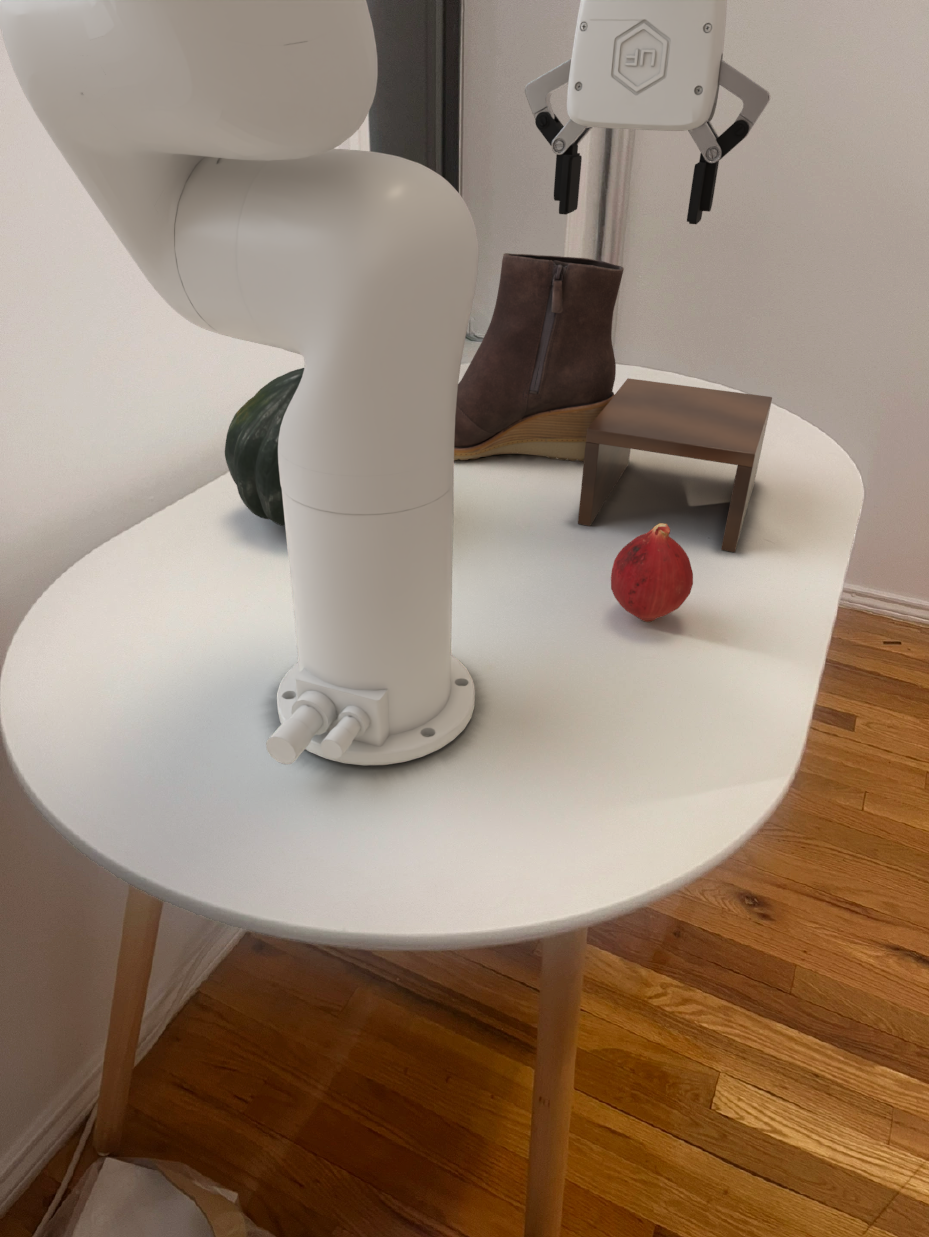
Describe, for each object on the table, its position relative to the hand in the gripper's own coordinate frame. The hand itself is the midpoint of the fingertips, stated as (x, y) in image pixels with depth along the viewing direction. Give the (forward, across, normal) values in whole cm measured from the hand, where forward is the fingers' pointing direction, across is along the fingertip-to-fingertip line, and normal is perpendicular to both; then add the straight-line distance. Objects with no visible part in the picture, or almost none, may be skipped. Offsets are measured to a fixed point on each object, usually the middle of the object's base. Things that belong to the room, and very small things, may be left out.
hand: (629, 217), depth 67 cm
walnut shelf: (+26, +6, +7) cm, 27 cm away
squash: (+26, -24, -8) cm, 36 cm away
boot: (+26, -14, +14) cm, 32 cm away
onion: (+26, +7, -15) cm, 31 cm away
